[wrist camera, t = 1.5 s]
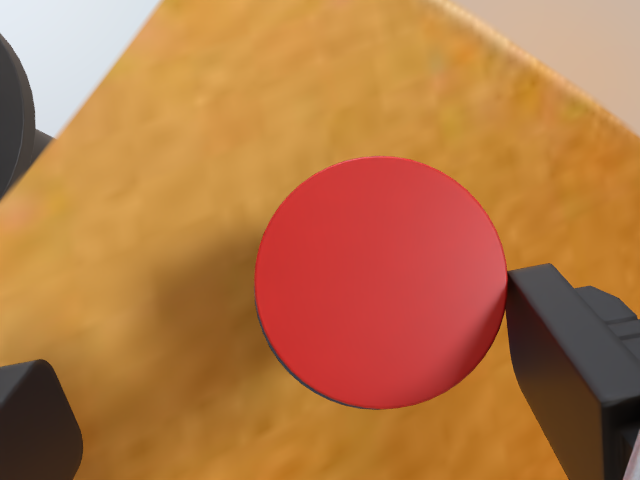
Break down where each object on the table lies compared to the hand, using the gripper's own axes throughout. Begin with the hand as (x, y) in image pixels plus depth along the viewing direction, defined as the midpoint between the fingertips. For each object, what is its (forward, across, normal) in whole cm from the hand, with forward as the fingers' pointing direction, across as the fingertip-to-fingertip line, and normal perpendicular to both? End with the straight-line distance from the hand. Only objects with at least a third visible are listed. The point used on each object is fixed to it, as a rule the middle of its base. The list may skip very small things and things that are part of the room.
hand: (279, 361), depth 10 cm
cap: (+3, -2, 0) cm, 3 cm away
